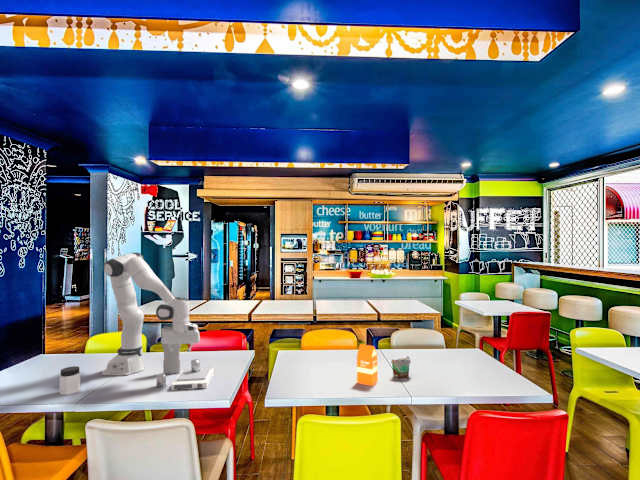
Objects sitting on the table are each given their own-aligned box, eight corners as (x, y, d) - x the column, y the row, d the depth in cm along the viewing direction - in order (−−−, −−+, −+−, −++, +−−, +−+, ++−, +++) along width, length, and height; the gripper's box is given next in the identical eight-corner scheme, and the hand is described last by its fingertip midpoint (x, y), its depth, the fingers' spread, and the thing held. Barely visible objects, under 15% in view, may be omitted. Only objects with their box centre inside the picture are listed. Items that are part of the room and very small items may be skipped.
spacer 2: (190, 372, 202) (190, 361, 202) (192, 370, 207) (192, 359, 207) (198, 372, 203) (198, 361, 203) (200, 369, 207) (200, 359, 207)
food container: (398, 380, 198) (398, 362, 198) (391, 377, 203) (391, 359, 203) (415, 376, 203) (415, 359, 204) (408, 373, 209) (407, 356, 209)
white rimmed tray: (170, 390, 187) (170, 383, 187) (181, 375, 209) (181, 368, 209) (206, 388, 189) (206, 381, 189) (213, 373, 212) (213, 366, 212)
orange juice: (371, 385, 191) (371, 348, 191) (356, 382, 196) (356, 345, 196) (377, 381, 198) (377, 344, 198) (363, 378, 202) (362, 342, 203)
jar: (77, 387, 193) (77, 365, 193) (82, 391, 188) (82, 368, 188) (57, 392, 186) (57, 369, 186) (62, 396, 181) (62, 372, 181)
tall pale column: (161, 374, 211) (161, 337, 211) (164, 372, 215) (163, 335, 215) (179, 374, 212) (179, 336, 212) (182, 371, 216) (181, 334, 216)
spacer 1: (155, 388, 191) (155, 376, 191) (158, 384, 195) (158, 373, 196) (164, 387, 191) (164, 376, 192) (167, 384, 196) (166, 373, 196)
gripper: (159, 328, 196) (159, 353, 196) (198, 327, 199) (198, 352, 199) (162, 325, 202) (162, 350, 202) (200, 325, 206) (200, 349, 205)
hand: (180, 351), depth 200 cm, fingers open, 8 cm apart
